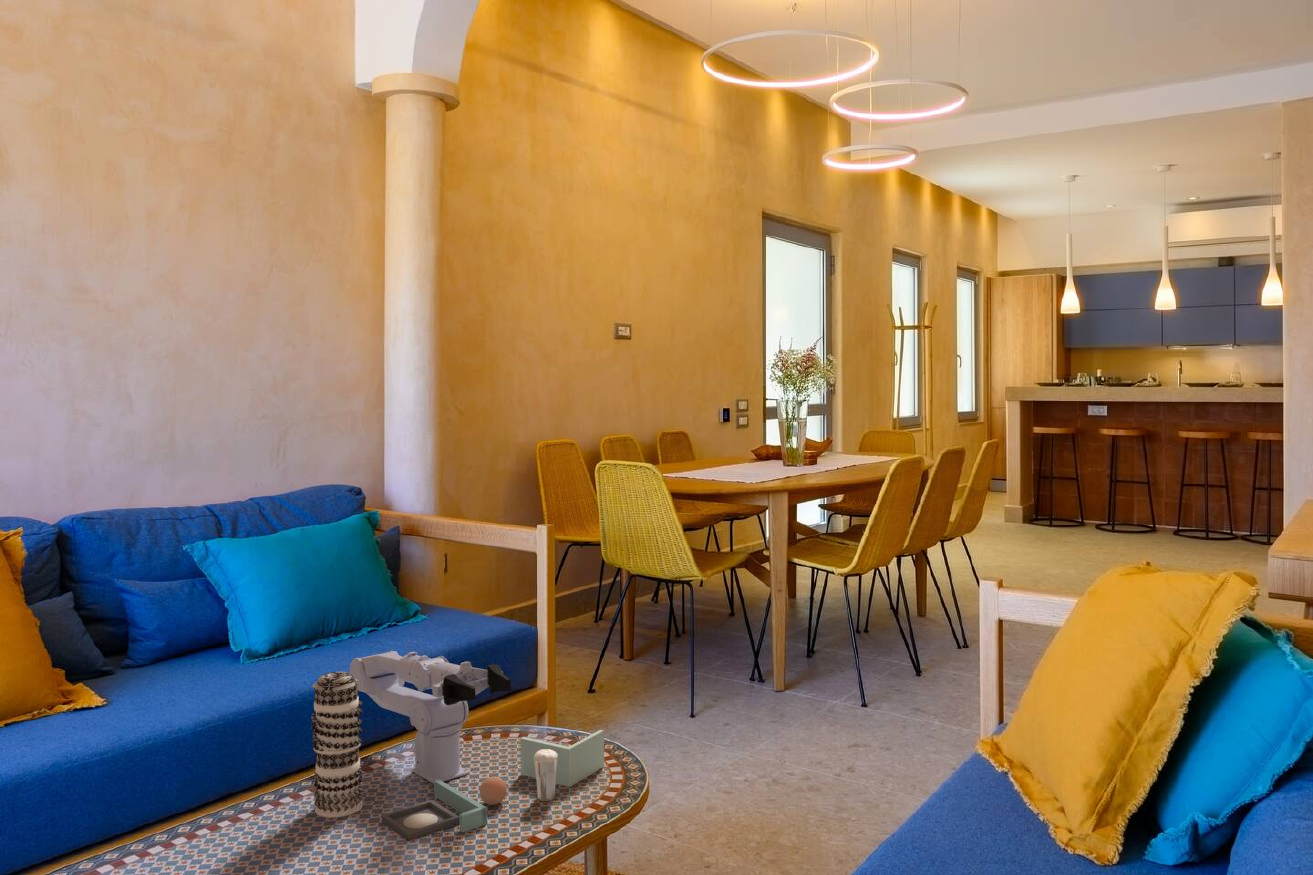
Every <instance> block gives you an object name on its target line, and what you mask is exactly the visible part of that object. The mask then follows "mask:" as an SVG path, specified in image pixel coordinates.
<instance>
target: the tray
mask: <svg viewBox="0 0 1313 875" xmlns="http://www.w3.org/2000/svg"><path fill="white" fill-rule="evenodd" d="M381 823H382V824H384V825H386V826H387V827H388V828H390V829H391V830H393V831H394V832H395V833H397V834H398V835H399V836H401V837H402V838H404V840H407V841H408V842H409V841H410V842H411V841H413V840H416V839H419V838H422V837H424V836H427V835H430V834H434V833H436V832H439V831H442V830H445V829H448V828H452V827H454V826H456V825H460V823H459V815H457V814H455V813H454V812H452V810H449V809H447V808H446V807H445V806H443V805H441V804H439V803H438V802H436V801H435V800H433V799H428V800H425V801H422V802H420V803H417V804H414V805H411V806H407V807H405V808H400V809H398V810H395V811H392V812H389V813H386V814H382V815H381Z"/></svg>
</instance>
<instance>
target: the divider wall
mask: <svg viewBox="0 0 1313 875" xmlns="http://www.w3.org/2000/svg"><path fill="white" fill-rule="evenodd" d="M433 796H434V798H437V799H438V800H439V801H442V802H443V803H445V804H446V805H448V806H450V807H451V808H453V809H454V810H456V811H458V812H459V815H458V816H459V823H460V824H459V832H461V833H462V834H463V833H465V832H469V831H471V830H474V829H476V828H480V827H482V826H485V825H487V824H488V807H486V806H485V805H483V804H481V803H480V802H478V801H476V800H475V799H473V798H471V797H469V796H468V795H466V794H465V793H463V792H461V791H459V790H457V788H454V787H452V786H451V785H449V784H448V783H445V781H443V782H442V781H440V780H439V779H438V780H435V781H434V784H433Z"/></svg>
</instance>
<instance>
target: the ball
mask: <svg viewBox="0 0 1313 875" xmlns="http://www.w3.org/2000/svg"><path fill="white" fill-rule="evenodd" d="M507 791H508V787H507V784H506V782H505V781H504V780H503V779H502V778H501V777H499V776H489V777H487V778H486V779H484V780H483V781H482V783H481V785H480V786H479V796H480V798H481V800H482V801H483V802H484V803H485V804H487V805H491V806H494V805H497V804H500V803H501V802H503V801H504V799H505V798H506V797H507V796H506V795H507V793H508V792H507Z"/></svg>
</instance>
